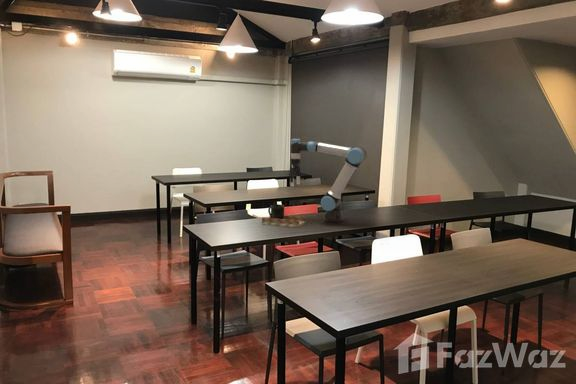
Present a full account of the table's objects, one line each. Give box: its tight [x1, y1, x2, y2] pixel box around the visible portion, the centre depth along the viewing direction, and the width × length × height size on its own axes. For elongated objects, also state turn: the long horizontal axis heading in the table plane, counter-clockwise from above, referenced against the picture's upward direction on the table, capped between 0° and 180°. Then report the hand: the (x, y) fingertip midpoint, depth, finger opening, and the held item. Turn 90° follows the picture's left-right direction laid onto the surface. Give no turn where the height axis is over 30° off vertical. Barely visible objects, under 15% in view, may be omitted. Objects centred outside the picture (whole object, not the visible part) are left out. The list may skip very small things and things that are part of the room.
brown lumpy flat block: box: [261, 214, 306, 228], centre depth 363 cm, size 30×16×5 cm, turn 68°
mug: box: [267, 203, 285, 219], centre depth 365 cm, size 11×15×12 cm
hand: (295, 185), depth 371 cm, fingers open, 13 cm apart
